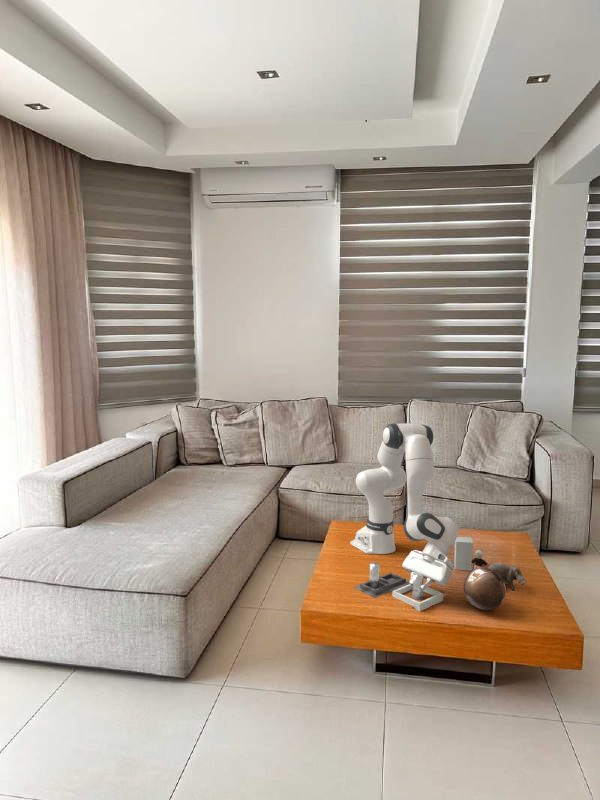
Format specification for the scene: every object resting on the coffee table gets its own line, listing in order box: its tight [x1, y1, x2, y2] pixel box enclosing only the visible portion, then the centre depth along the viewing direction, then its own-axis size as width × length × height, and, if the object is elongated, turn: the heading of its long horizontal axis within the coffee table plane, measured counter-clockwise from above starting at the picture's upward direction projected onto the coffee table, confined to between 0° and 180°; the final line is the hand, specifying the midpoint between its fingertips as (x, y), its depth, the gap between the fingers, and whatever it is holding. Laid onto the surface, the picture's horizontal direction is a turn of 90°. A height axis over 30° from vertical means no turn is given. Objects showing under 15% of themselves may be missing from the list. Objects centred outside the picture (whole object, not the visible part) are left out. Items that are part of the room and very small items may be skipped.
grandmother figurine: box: [470, 549, 489, 570], centre depth 248 cm, size 8×4×13 cm, turn 68°
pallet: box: [353, 572, 410, 599], centre depth 242 cm, size 12×22×2 cm, turn 129°
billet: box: [411, 573, 424, 601], centre depth 230 cm, size 4×4×10 cm
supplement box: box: [453, 536, 474, 572], centre depth 261 cm, size 7×7×13 cm
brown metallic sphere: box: [463, 567, 507, 611], centre depth 223 cm, size 15×15×15 cm
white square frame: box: [391, 584, 444, 612], centre depth 230 cm, size 14×14×3 cm
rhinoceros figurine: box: [488, 562, 527, 592], centre depth 242 cm, size 8×14×15 cm
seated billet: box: [369, 561, 381, 589], centre depth 238 cm, size 4×4×10 cm
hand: (416, 586), depth 230 cm, fingers closed on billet, 4 cm apart
